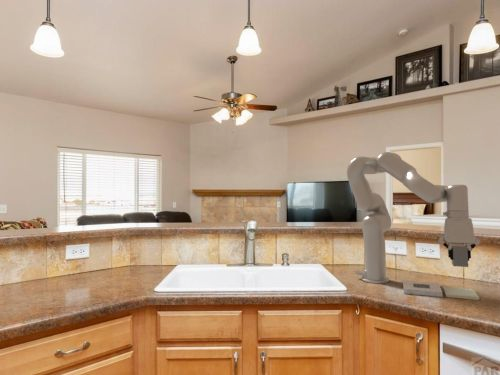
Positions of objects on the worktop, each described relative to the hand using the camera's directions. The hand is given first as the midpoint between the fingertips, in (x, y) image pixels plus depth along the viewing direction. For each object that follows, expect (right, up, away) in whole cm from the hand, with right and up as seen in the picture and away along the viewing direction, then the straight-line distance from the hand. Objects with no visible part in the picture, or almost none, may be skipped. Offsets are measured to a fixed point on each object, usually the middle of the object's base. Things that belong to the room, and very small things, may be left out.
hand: (459, 259), depth 137 cm
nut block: (0, -2, 0) cm, 2 cm away
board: (0, -14, 0) cm, 14 cm away
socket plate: (-13, -15, +6) cm, 20 cm away
